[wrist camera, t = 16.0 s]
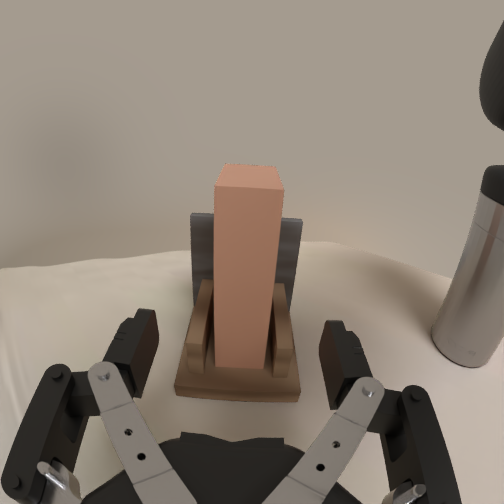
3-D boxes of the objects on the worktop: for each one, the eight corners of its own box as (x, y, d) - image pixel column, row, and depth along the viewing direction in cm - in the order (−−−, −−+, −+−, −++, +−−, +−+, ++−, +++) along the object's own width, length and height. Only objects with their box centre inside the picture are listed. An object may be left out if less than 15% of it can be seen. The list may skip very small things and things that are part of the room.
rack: (297, 401, 23) (328, 288, 17) (176, 395, 22) (157, 279, 17) (286, 313, 33) (300, 216, 28) (196, 308, 33) (193, 210, 28)
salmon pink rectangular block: (263, 368, 24) (284, 189, 17) (215, 366, 24) (214, 185, 17) (261, 315, 30) (275, 166, 24) (222, 313, 30) (225, 163, 23)
